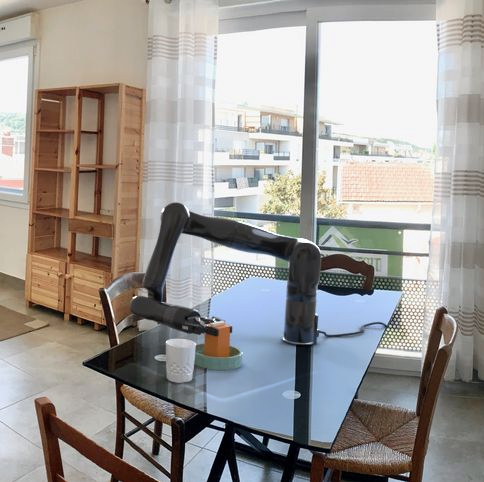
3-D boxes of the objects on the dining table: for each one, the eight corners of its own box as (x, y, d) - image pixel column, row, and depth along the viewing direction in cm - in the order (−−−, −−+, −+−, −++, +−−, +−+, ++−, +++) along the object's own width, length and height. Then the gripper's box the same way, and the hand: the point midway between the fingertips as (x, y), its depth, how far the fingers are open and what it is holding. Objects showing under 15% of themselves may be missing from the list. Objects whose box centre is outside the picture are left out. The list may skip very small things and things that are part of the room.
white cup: (161, 374, 169) (162, 338, 168) (189, 373, 170) (190, 338, 169) (169, 384, 161) (170, 347, 160) (198, 383, 162) (199, 347, 161)
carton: (215, 352, 182) (217, 319, 180) (229, 356, 177) (230, 323, 176) (203, 355, 179) (205, 321, 178) (217, 360, 175) (218, 325, 173)
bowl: (231, 355, 186) (231, 342, 186) (249, 371, 172) (250, 357, 171) (184, 355, 185) (184, 343, 185) (198, 372, 171) (198, 358, 170)
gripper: (164, 309, 185) (207, 322, 170) (198, 303, 192) (242, 315, 178) (163, 334, 186) (206, 348, 171) (197, 327, 193) (241, 340, 179)
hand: (224, 331), depth 175 cm, fingers closed on carton, 5 cm apart
